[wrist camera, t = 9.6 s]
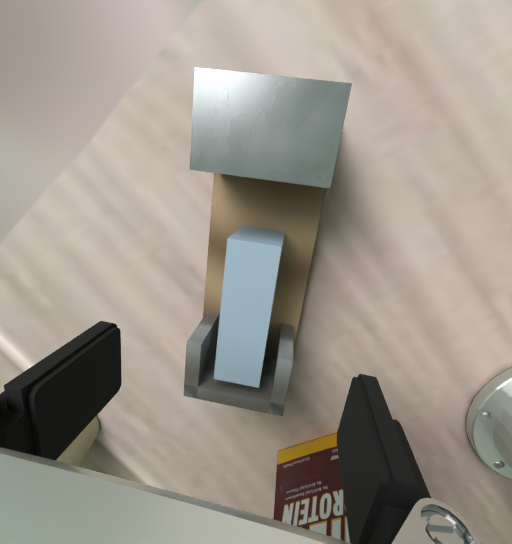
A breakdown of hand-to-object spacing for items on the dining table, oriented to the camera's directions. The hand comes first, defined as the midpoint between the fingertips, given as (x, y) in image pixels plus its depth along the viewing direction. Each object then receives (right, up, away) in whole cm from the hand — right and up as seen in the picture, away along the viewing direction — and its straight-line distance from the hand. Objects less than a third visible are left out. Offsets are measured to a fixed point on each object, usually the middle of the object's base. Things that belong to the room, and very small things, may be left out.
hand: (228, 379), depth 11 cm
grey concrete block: (+2, +13, +8) cm, 15 cm away
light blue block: (+1, +3, +12) cm, 12 cm away
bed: (+1, +6, +12) cm, 13 cm away
